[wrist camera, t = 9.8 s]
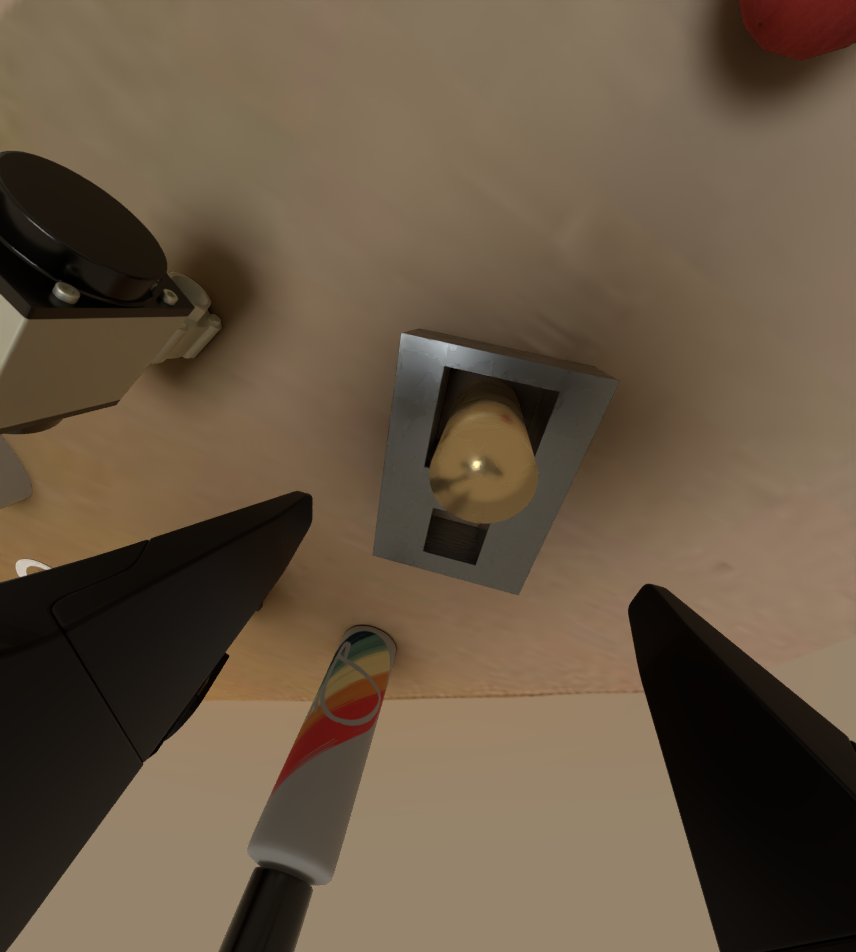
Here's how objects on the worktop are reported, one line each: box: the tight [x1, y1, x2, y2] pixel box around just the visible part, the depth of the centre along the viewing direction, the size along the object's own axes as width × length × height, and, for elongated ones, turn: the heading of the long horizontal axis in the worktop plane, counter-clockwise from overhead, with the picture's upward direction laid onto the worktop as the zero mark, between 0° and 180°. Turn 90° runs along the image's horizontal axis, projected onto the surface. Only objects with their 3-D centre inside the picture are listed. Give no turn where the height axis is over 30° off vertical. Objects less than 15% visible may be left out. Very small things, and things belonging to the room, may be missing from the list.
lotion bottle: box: [219, 626, 396, 952], centre depth 24 cm, size 6×6×20 cm
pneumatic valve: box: [0, 151, 222, 434], centre depth 15 cm, size 6×12×12 cm, turn 124°
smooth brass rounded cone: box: [429, 379, 538, 523], centre depth 16 cm, size 4×4×9 cm
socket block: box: [373, 329, 620, 595], centre depth 19 cm, size 14×10×4 cm
